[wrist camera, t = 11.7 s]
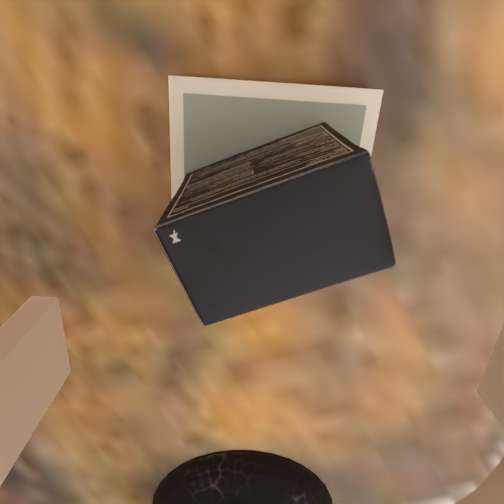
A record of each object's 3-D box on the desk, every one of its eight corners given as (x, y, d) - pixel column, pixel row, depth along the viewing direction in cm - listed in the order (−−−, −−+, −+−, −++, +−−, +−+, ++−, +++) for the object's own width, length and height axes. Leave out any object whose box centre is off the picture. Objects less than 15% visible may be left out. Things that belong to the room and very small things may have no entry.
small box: (218, 252, 30) (200, 334, 20) (182, 173, 27) (143, 225, 18) (352, 206, 28) (401, 272, 19) (327, 118, 26) (369, 143, 16)
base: (181, 248, 35) (172, 270, 31) (179, 75, 29) (167, 75, 25) (338, 257, 35) (349, 280, 31) (367, 88, 29) (384, 90, 25)
